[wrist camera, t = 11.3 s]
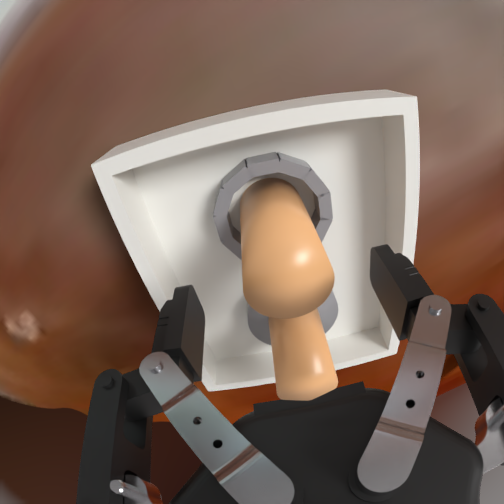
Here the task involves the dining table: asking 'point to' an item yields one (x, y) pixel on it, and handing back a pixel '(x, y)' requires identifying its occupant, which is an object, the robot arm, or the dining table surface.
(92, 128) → the dining table surface
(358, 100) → the housing
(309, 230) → the tan rounded sausage
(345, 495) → the robot arm
